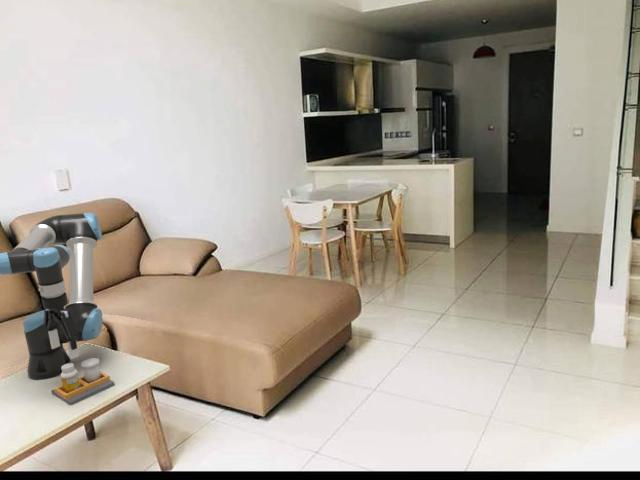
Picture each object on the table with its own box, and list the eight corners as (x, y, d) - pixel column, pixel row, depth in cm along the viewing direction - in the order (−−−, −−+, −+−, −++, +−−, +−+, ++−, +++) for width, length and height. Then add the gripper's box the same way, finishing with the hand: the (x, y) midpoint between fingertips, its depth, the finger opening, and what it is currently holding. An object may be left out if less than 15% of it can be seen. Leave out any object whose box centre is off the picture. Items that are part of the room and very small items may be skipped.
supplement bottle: (64, 390, 183) (58, 364, 181) (80, 385, 186) (75, 360, 183) (64, 396, 179) (58, 371, 176) (81, 392, 181) (76, 366, 179)
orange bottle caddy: (51, 393, 184) (47, 370, 182) (94, 374, 196) (91, 352, 194) (70, 405, 175) (66, 381, 173) (114, 385, 187) (110, 362, 185)
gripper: (25, 290, 179) (37, 347, 184) (59, 305, 163) (71, 366, 169) (48, 284, 184) (59, 339, 190) (83, 297, 169) (94, 357, 174)
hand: (65, 352), depth 179 cm, fingers open, 13 cm apart
